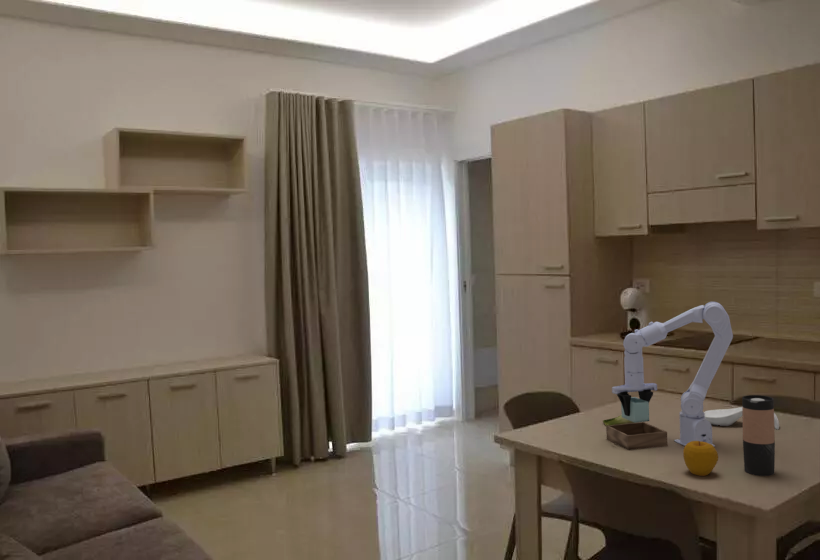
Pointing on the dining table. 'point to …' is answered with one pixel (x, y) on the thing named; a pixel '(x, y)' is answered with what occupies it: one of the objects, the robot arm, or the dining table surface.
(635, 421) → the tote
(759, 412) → the travel mug
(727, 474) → the dining table surface
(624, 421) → the fennel bulb
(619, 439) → the crate
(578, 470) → the dining table surface
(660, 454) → the dining table surface
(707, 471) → the apple
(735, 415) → the spoon rest
